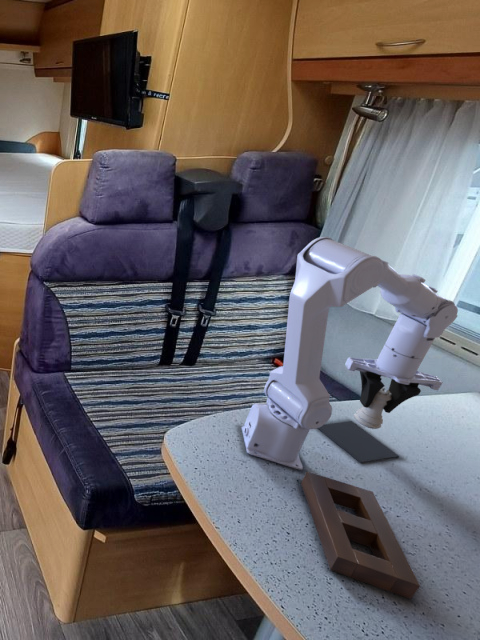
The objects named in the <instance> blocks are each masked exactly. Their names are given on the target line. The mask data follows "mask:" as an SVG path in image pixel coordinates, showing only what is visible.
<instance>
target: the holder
mask: <svg viewBox="0 0 480 640" xmlns="http://www.w3.org/2000/svg"><path fill="white" fill-rule="evenodd" d="M300 484H301V488H302V490H303V493H304V496H305V499H306V502H307V506H308V508H309V511H310V514H311V517H312V520H313V523H314V526H315V529H316V532H317V535H318V538H319V541H320V544H321V546H322V550H323V553H324V555H325V558H326V561H327V564H328V568H329V570H330V571H333V572H335V573H337V574H340V575H344V576H346V577H349V578H351V579H354V580H357V581H360V582H363V583H365V584H368V585H371V586H374V587H375V588H379V589H382V590H384V591H387V592H390V593H393V594H395V595H398V596H400V597H403V598H406V599H408V600H412V598H413V597H414V596H415V594H416V593H417V592H418V590H419V589H420V587H421V585H420V583H419V581H418V579H417V577H416V575H415V573H414V571H413V569H412V566H411V564H410V563H409V561H408V558H407V557H406V555H405V553H404V551H403V549H402V547H401V545H400V543H399V541H398V539H397V537H396V535H395V533H394V531H393V528H392V527H391V525H390V523H389V521H388V519H387V517H386V515H385V514H384V511H383V509H382V507H381V505H380V503H379V501H378V500H377V497H376V495H375V493H374V492H373V491H372V490H369V489H366V488H362V487H359V486H355V485H352V484H350V483H346V482H344V481H340V480H336V479H334V478H330V477H327V476H323V475H321V474H318V473H314V472H311V471H306V472H305V474H304V476H303V478H302V480H301V482H300ZM336 505H337V506H341V507H344V508H347V509H350V510H353V512H354V514H352V513H349V512H346V511H342V510H340V509H337V507H336ZM351 542H354V543H356V544H360V545H362V546H366V547H369V548H370V551H371V553H372V554H369V553H366V552H363V551H360V550H357V549H354V548H353V547H352V545H351Z"/></svg>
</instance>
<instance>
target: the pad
mask: <svg viewBox="0 0 480 640" xmlns="http://www.w3.org/2000/svg"><path fill="white" fill-rule="evenodd" d="M317 430H319V431H320V432H321V433H323V434H324V435H325V436H326V437H328V438H329V439H330V440H331V441H332V442H334V443H335V444H336V445H338V446H339V447H340V448H341V449H342V450H344V451H345V452H346V453H347V454H348V455H350V456H351V457H353V459H355V460H356V461H358V462H359V463H360V464H366V463H370V462H371V463H372V462H379V461H383V460H390V459H396V458H399V457H400V455H398V454H397V453H396V452H394V451H393V450H392V449H390V448H389V447H388V446H386V445H385V444H384V443H382V442H381V441H379V440H378V439H377V438H376V437H374V436H372V434H370V433H369V432H367V431H366V430H365V429H363V428H362V427H360V426H359V425H358V424H357V423H356V422H354V421H352V420H348V421H342V422H334V423H325V424H324V425H323V426H321V427H319V428H317Z"/></svg>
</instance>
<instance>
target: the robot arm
mask: <svg viewBox="0 0 480 640" xmlns="http://www.w3.org/2000/svg"><path fill="white" fill-rule="evenodd" d="M294 277H295V279H294V282H293V285H292V288H291V290H290V293H289V299H288V310H287V322H286V331H285V332H286V333H285V342H284V343H285V344H284V355H283V364H282V366H281V365H280V366H278V367H276V368H274V369H272V370H271V371H269V376H268V379H267V381H266V382H265V386H264V389H263V392H264V396H266V397H267V399H266V402H265V403H254V404H252V406H251V407H250V409H249V412H248V414H247V417H246V419H245V422H244V425H242V426H241V432H242V436H243V440H244V441H243V442H244V445H245V451H246V453H247V454H248V455H251V456H254V457H257V458H261V459H263V460H267V461H271V462H273V463H277V464H280V465H282V466H286V467H289V468H291V469H296V470H300V471H303V469H304V467H303V463H302V461H301V459H300V458H301V457H300V456H299V453H300V451H301V449H302V447H303V445H304V443H305V441H306V439H307V437H308V434H309V432H310V430H315V429H318V428H319V427H321V426H323V425H324V424H327V423H328V421H330V419H331V417H332V414H333V407H332V405H331V403H330V398H331V396H330V393H329V392H328V390H327V388H326V387H325V385H324V384H323V382H322V380H321V378H320V375H321V369H322V361H323V355H324V347H325V341H326V332H327V325H328V318H329V312H330V311H329V310H330V308H331V307H332V308H333V307H335V308H336V307H338V308H339V307H340V308H342V307H343V306H345V305H347V304H348V303H350V302H352V301H353V300H355V299H356V298H359V296H362V295H363V294H365V293H366V292H367V291H369V290H371V289H372V288H373V289H374V288H377V287H378V288H380V289H379V290H380V291H379V292H380V296H381V298H382V299H383V300H384V301H385V302H387V303H388V304H389V305H391V306H392V307H394V309H395V312H396V313H400V314H399V315H398V318H397V320H396V322H395V323H394V325H393V327H392V329H391V331H390V333H389V334H388V337H387V339H386V341H385V343H384V344H383V347H382V349H381V351H380V353H379V355H378V357H377V359H372V358H356V357H351V356H348V357H347V359H346V361H345V363H344V365H345V367H346V368H347V369H348V371H351V372H356V371H357V372H359V374H360V375H359V376H360V381H361V391H360V392H361V393H360V398H359V403H360V404H361V406H362V407H366V408H368V407H369V406H370V405H371V403H372V401H373V399H374V397H375V396H376V394H377V393H378V392H379V391H380V390H381V389H382V388H385V384H384V383H383V382H382V379H383V378H382V377H384V378H388V379H390V383H389V387H388V389H387V390H389V391H390V393H391V397H392V399H391V400H389V401H387V402H386V403H387V405H385V406H384V408H383V412H385V413H388V414H390V413H392V412H393V410H395V409H396V408H397V407H398V406H400V405H401V404H403V403H404V402H406V401H407V400H409V399H412V398H414V397H417V396H419V395H420V393H421V392H422V391H421V389H420V388H419V385H420V386H423V387H428V388H430V389H431V390H434V391H439V390H440V388H441V386H442V385H443V381H442V380H441V379H440V378H439V376H436V375H433V374H429V373H425V372H424V371H423V372H422V371H419V370H418V369H419V368H420V366H421V364H422V363H423V361H424V358H425V357H426V355H427V353H428V352H429V350H430V348H431V346H432V344H433V342H434V341H435V339H437V338H440V337H441V336H442V335H443V333H444V332H445V330H446V329H447V328H448V327H450V325H452V324H453V323H454V322H455V320H457V318H458V312H459V309H458V307H457V306H456V303H455V302H454V301H453V300H451V299H448V298H446V297H444V296H441V295H439V294H438V289H437V288H434V287H432V286H430V285H427V284H425V282H426V279H425V278H424V277H422V276H419V275H417V274H412V275H411V274H406V273H399V272H398V271H396V270H395V269H394V268H393V267H392V266H390V265H389V262H388V261H386V260H383V259H381V258H380V257H378V256H376V255H371V254H369V253H366V252H364V251H361V250H359V249H357V248H354V247H352V246H350V245H346V244H343V243H341V242H338V241H336V240H334V239H333V238H331V237H329V236H320V237H317V238H315V239H313V240H311V241H310V242H309V243H308V244H307V245H306V246H305V247H304V248H303V249H302V250H301V251H300V252H299V253H297V258H296V268H295V276H294Z"/></svg>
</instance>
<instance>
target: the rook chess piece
mask: <svg viewBox="0 0 480 640" xmlns="http://www.w3.org/2000/svg"><path fill="white" fill-rule="evenodd" d="M391 399H392V397H391V393H390V391H389V390H388V389H387V390H386V388H385V387H383V388H382V389H381V390H380V391H379V392H378V393H377V394H376V396H375V397H374V399H373V401H372V403H371V405H370V406H369V407H368V408H366V407H363V406H361V408H357V410H356V412H355V413H353V416H354V419H355V421H356V422H357V423H359V424H360V425H361V426H363V427H365V428H367V429H372V430H378V429H380V428H382V425H383V423H384V419H383V412H384V409H383V408H384V406H385V405H387V403H386V402H387V401H389V400H391Z"/></svg>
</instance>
